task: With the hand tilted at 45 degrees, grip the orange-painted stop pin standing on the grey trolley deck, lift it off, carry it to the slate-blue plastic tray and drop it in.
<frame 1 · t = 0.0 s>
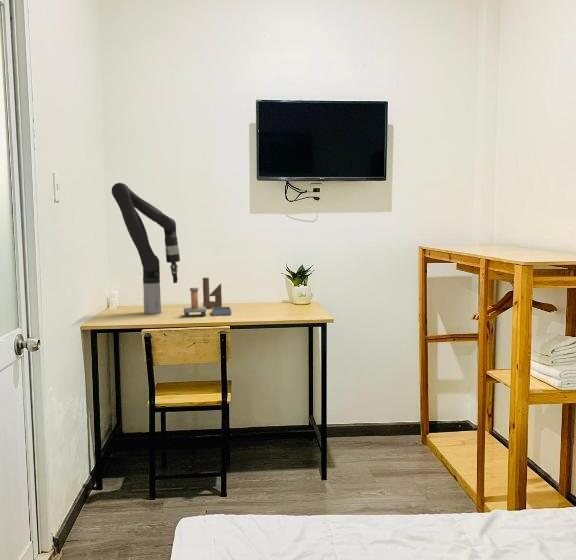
hand: (175, 281, 333), 17 cm above the table, tool pointing down, fingers open, 8 cm apart
stop pin: (194, 308, 321), point 4 cm above the table, touching trolley
tray: (221, 313, 326), on the table
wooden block: (212, 308, 347), on the table
trolley: (195, 315, 322), on the table
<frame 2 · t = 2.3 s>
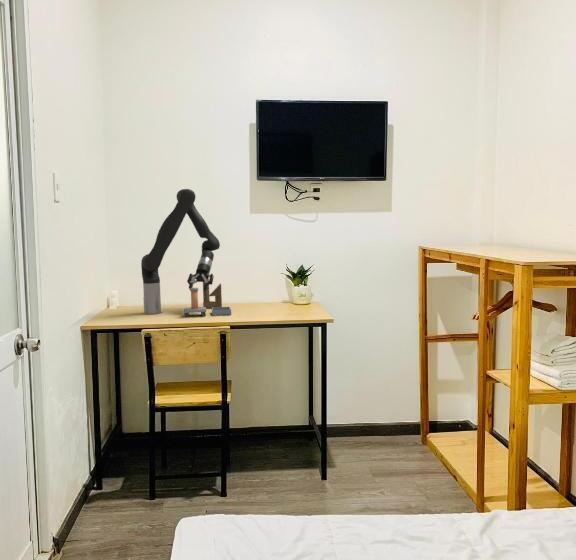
hand: (197, 289, 325), 14 cm above the table, tool tilted 45°, fingers open, 8 cm apart
nothing on the table moved.
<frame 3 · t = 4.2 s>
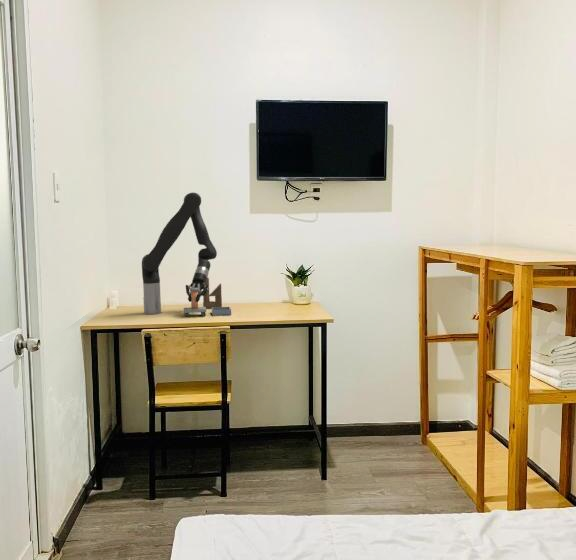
hand: (193, 300, 319), 9 cm above the table, tool tilted 45°, fingers closed on stop pin, 3 cm apart
stop pin: (194, 308, 321), point 4 cm above the table, touching gripper, trolley
everything else where it was.
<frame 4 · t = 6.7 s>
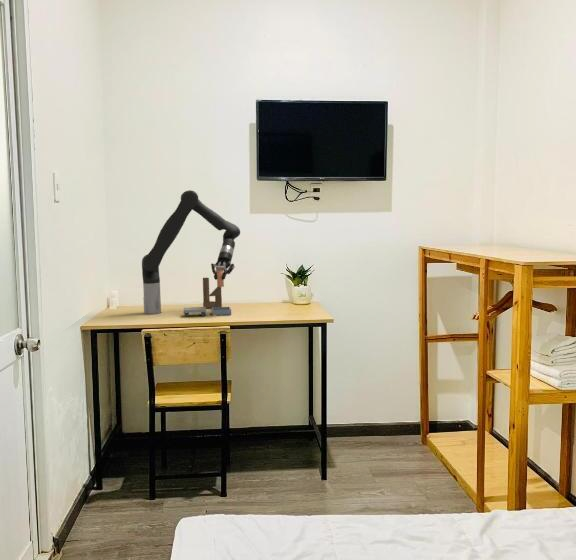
hand: (219, 278, 322), 20 cm above the table, tool tilted 45°, fingers closed on stop pin, 3 cm apart
stop pin: (220, 286, 324), point 15 cm above the table, touching gripper
everything else where it was.
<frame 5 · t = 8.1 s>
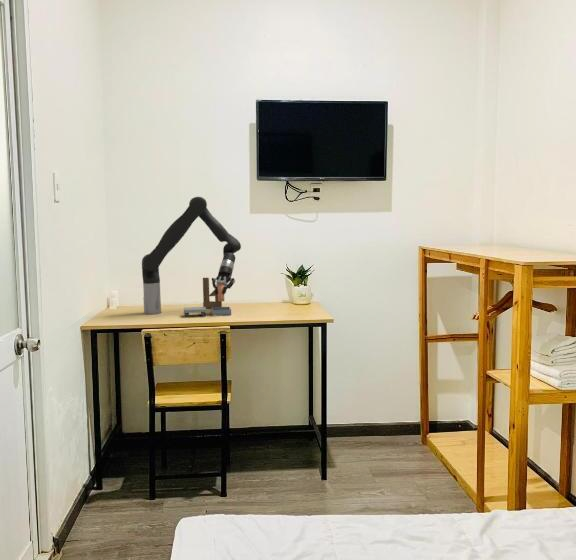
hand: (219, 293, 323), 12 cm above the table, tool tilted 45°, fingers closed on stop pin, 3 cm apart
stop pin: (221, 301, 325), point 7 cm above the table, touching gripper
everything else where it was.
when the fingers open (7 cm above the table, at t = 9.3 s): stop pin drops 2 cm, resting on tray.
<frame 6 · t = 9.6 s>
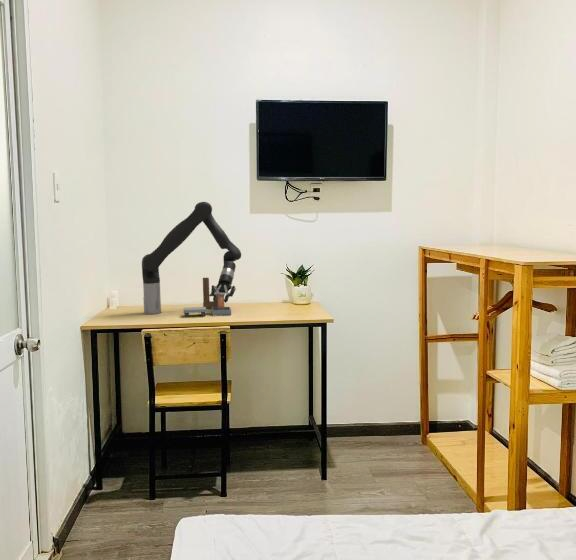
hand: (219, 301, 324), 7 cm above the table, tool tilted 45°, fingers open, 5 cm apart
stop pin: (221, 312, 326), point 1 cm above the table, touching tray
everything else where it was.
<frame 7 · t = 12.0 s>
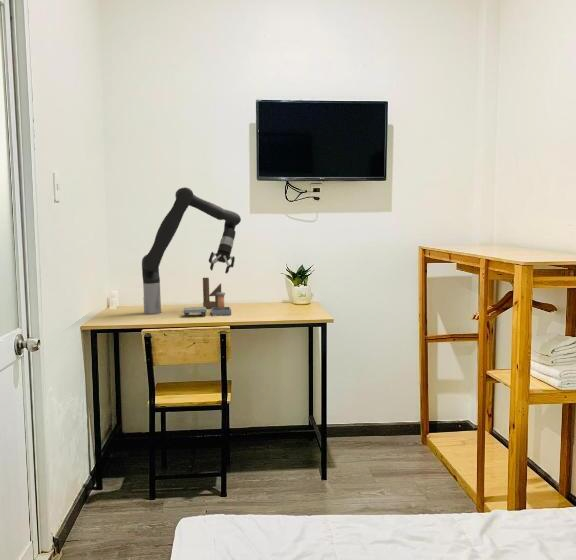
hand: (218, 271, 332), 23 cm above the table, tool tilted 30°, fingers open, 8 cm apart
nothing on the table moved.
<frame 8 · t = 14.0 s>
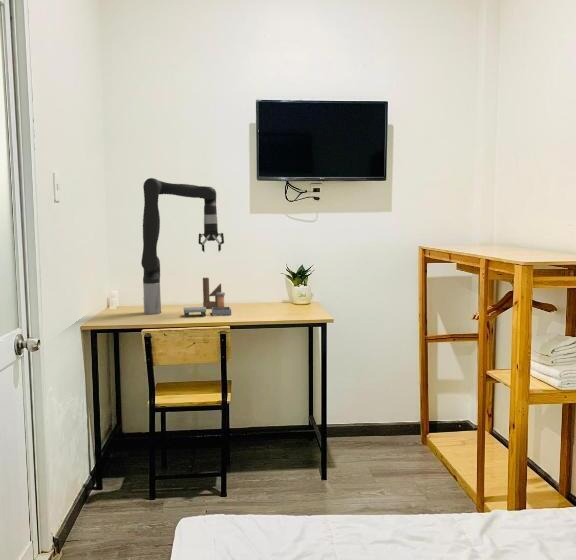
hand: (211, 251, 331), 34 cm above the table, tool pointing down, fingers open, 8 cm apart
nothing on the table moved.
at the end: stop pin inside the target area on the tray (0.2 cm from its centre), point 0.5 cm above the tray's base; the gripper is holding nothing; stop pin touching tray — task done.
